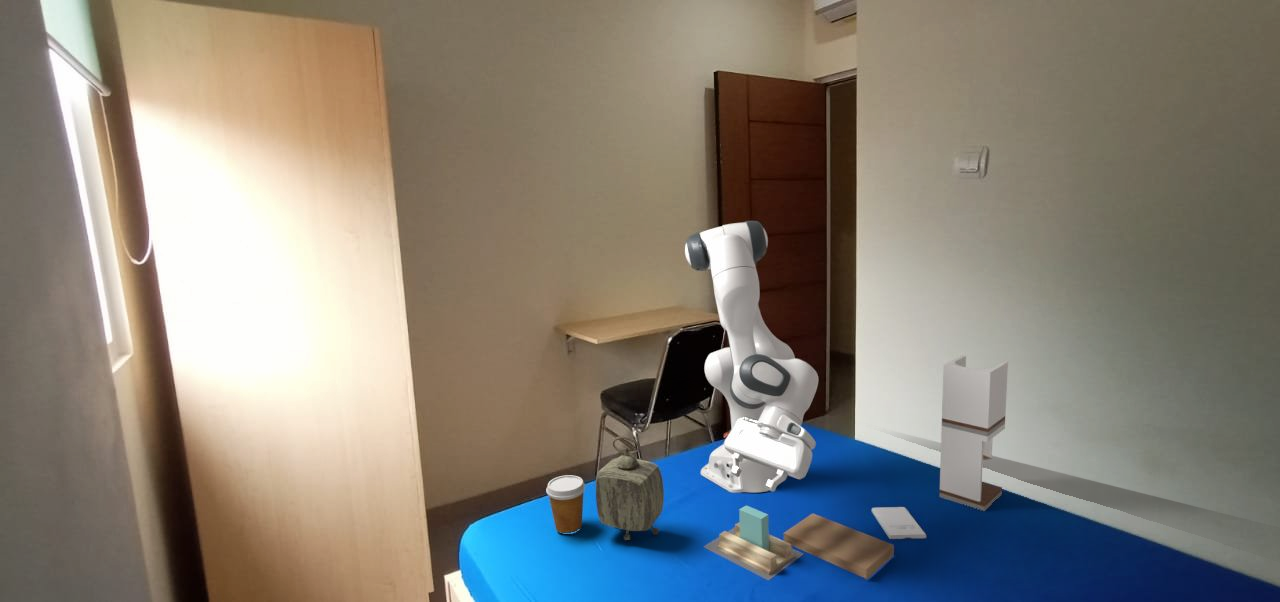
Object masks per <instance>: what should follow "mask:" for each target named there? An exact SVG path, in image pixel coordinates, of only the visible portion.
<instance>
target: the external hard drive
mask: <svg viewBox="0 0 1280 602" xmlns="http://www.w3.org/2000/svg"><path fill="white" fill-rule="evenodd" d="M871 513H872V514H873V516H874V517H875V519H876V521H877V522H878V524H879V525H880V526H881V528H882V529H883V531H884V532H885V534H886V535H887V537H888V539H889V540H897V539H898V540H902V539H904V540H905V539H927V534H926V533H925V531H924V530H923V529H922V528H921V526H920V525H919V524H918V523H917V521H916V520H915V518H914V517H913V515H911V514H910V511H909V510H908V509H907V508H906V507H905V506H894V507H893V506H889V507H886V506H885V507H872V508H871Z"/></svg>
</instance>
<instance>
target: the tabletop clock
mask: <svg viewBox="0 0 1280 602" xmlns="http://www.w3.org/2000/svg"><path fill="white" fill-rule="evenodd" d="M618 440H625V441H626V440H627V441H631V442H633V443H634V444H635V445H636V447H637V449H636V450H633V451H632V450H631V451H630V450H629V448H628V447H624V448H623V449H621V448H618V447H617V446H616V445H615V443H616V441H618ZM612 447H613V448H614V450H616V452H619V453H621V455H619V457H616V458H612V459H610V461H608V463H606V464H605V465H604V466H603V467H602V468H600V469H599V471H598V472H597V475H596V478H595V503H596V510H597V512H596V513H597V516H598V520H599V522H601V524H603V525H605V526H607V527H608V526H609V527H610V528H611V527H612V528H615V529H620V530H625V534H624V536H623V540H624V541H625V540H629V541H631V535H630V534H629V533H630V532H644V531H649V529H651V532H652V534H653V535H655V536H656V535H658V534H659V532H660V530H659V528H658V527H654V526H653V524H654V523H655V522H656V521H657V519H659V517H660V516H661V514H662V512H663V510H664V503H665V501H664V498H665V489H664V488H665V487H664V481H663V475H662V471H661V469H660V466H659V465H657V464H655V463H654V462H651V461H647V460H644V459H643V460H642V459H638V458H636V456H635V454H637V453H638V452H639V451H640V448H641V447H640V444H639V442H638V441H637V440H636V439H634V438H633V437H630V436H624V435H622V436H621V435H619V436H617V437H615V438H614V439H613V441H612ZM629 531H630V532H629Z"/></svg>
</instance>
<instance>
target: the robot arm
mask: <svg viewBox="0 0 1280 602" xmlns="http://www.w3.org/2000/svg"><path fill="white" fill-rule="evenodd" d="M768 239H769V238H768V234H767V232H766V230H765V228H764V227H763V224H761V223H760V222H759V221H757V220H746V221H743V222H735V223H728V224H727V223H726V224H723V225H722V226H717V227H714V228H710V229H707V230H704V231H701V232H699V231H697V232H695V233H693V234H690V235H689V236H688V237H687V239H686V240H685V242H686V243H685V245H684V254H685V259H686V260H687V262H688V264H689V265H690V267H691V268H692V269H693V270H695V271H696V272H697V271H699V272H706V271H707V270H710V273H711V279H712V283H713V284H712V285H713V292H714V293H713V294H714V299H715V305H716V308H717V313H718V318H719V323H720V325H721V327H722V328H723V329H724V331H726V333H727V340H728V345H729V346H727V347H723V348H721V349H718V350H716V351H713V352H710V353H709V354H708V355H707V357H706V359H705V362H704V368H703V369H704V374H705V378H706V380H707V381H708V383H709V384H710V385H711V386H712V387H713V388H715V389H717V390H719V392H720V393H721V394H722V395H723V396H724V397H725V400H726V401H727V403H728V407H729V413H730V414H729V416H730V425H731V426H730V427H731V429H729V431H727V432H725V433H723V438H724V439H725V440H724V442H723V443H722V444H721V445H720V446H718V447H717V448H715V449H713V451H712V452H711V453H710V455H709V459H708V463H706V464H705V465H704V466H703V467H702V468H701V469H700V475H701V476H702V477H704V478H706V479H708V480H709V481H710V482H712V483H714V484H716V485H717V486H719V487H721V488H723V489H724V490H726V491H727V492H729V493H734V494H735V493H737V494H738V493H756V494H757V493H763V492H769V491H770V492H772V493H774V492H775V491H776V489H777V487H778V486H779V485H780V484H781V483H783V482H785V481H786V480H787V477H788V476H789V477H792V478H794V479H797V480H802V479H804V478H805V477H806V475H807V473H808V471H809V469H810V465H811V463H812V460H813V451H812V450H814V449H815V448H816V445H817V443H816V441H815V439H814V438H813V436H812V435H811V434H810V433H809V432H808V431H807V430H806V429H805V428H804V427H802V424H803V421H804V420H803V419H804V415H805V413H806V412H807V411H808V410H809V409H810V406H811V404H812V402H813V399H814V397H815V395H816V392H817V389H818V385H819V376H818V372H817V371H816V370H815V369H814V367H813V366H812V365H811V364H809V363H808V362H807V361H805V360H803V359H800V358H796V357H795V354H794V352H793V350H792V348H791V347H790V346H789V345H788V344H787V343H785V342H783V341H782V340H780V339H779V338H777V337H776V336H775V335H774V334H773V333H772V332H771V330H770V329H769V328H768V326H767V325H766V324H765V321H764V319H763V317H762V314H761V309H760V306H759V301H760V293H761V292H760V280H759V276H758V271H757V267H756V266H758V265H757V264H758V263H757V262H759V261H760V260H761V259H762V258H763V257H764V256H765V254H766V253H767V250H768V243H769V240H768Z"/></svg>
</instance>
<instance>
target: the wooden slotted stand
mask: <svg viewBox="0 0 1280 602" xmlns="http://www.w3.org/2000/svg"><path fill="white" fill-rule="evenodd" d="M727 532H729V533H731V534H733V535H735V527H732V528H731V529H729V530H728V531H727ZM718 545H720V540H719V536H718V537H717V538H715V539H714V540H712V541H710V542H708V543H707V544H706V545H704V546H703V548H704V549H707V550H708V551H710V552H712V553H713V554H716V555H718V556H720V557H722V558H724V559H726V560H727V561H729V562H732V563H733V564H735V565H737V566H740V567H741V568H743V569H745V570H747V571H749V572H752V574H754V575H757V576H759V577H760V578H762V579H765V580H767V581H770V580H771V579H772V578H774V577H776V576H777V575H778V574H779V573H780V572H782V571H784V569H786V568H787V567H790V565H791V564H793V563H794V562H795V561H797V560H798V559H800V558H801V557H802V556H803V555H804V553H803V552H801V551H799V550H796V549H794V548H793V547H791V550H792V553H794V557H793V558H791V559H790V560H789V561H787V562H786V563H785V564H783V565H782V566H780V567H779V568H778V569H776V570H775V571H774V572H772V573H771V574H770V575H768V574H766V573H764V572H762V571H760V570H758V569H756V568H754V567H752V566H750V565H748V564H746V563H744V562H742V561H740V560H738V559H736V558H734V557H732V556H730V555H728V554H726V553H724V552H722V551H720V550H718V547H717V546H718Z"/></svg>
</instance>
